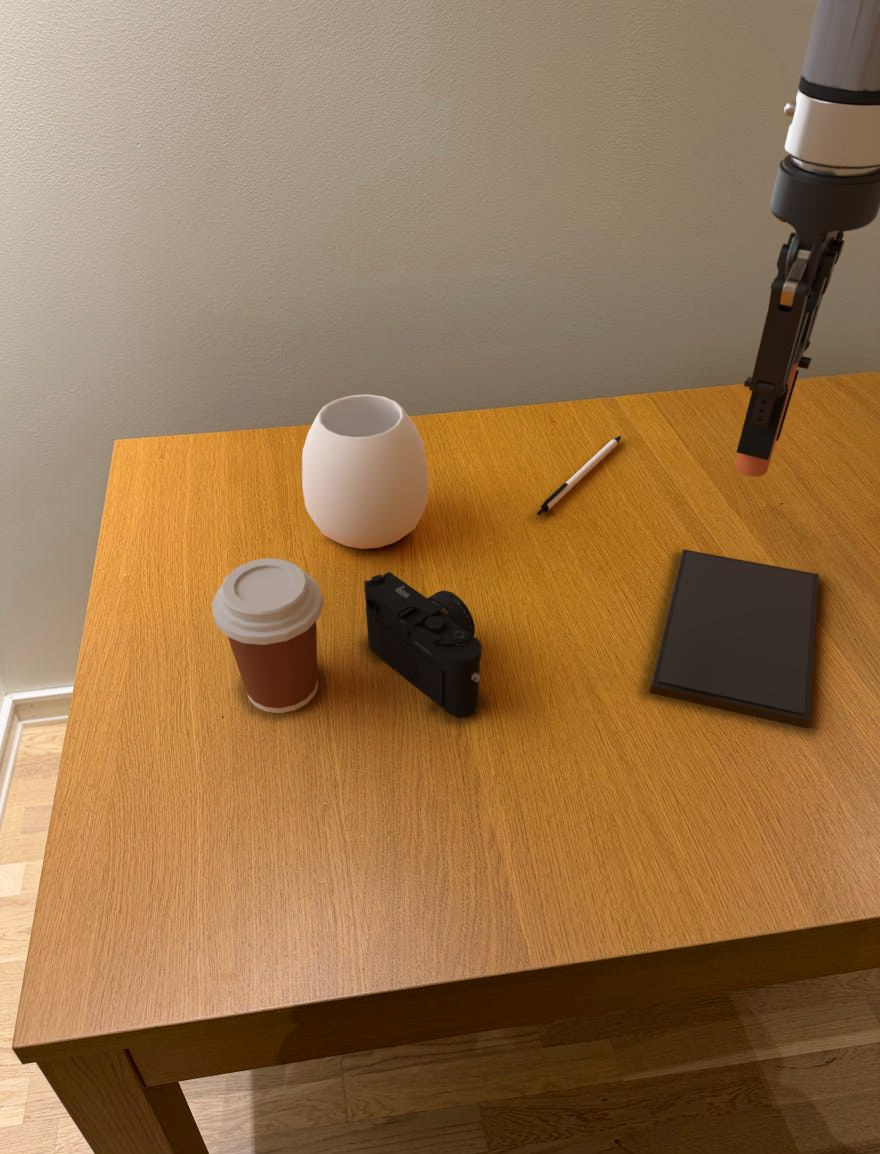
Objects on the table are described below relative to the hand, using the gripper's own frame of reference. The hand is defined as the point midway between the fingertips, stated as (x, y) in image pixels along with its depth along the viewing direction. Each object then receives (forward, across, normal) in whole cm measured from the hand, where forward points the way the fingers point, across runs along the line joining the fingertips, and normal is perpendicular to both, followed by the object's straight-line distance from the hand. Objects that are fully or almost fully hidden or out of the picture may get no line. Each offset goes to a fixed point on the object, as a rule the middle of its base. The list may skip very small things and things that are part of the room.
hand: (758, 444), depth 82 cm
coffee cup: (+15, +34, -30) cm, 48 cm away
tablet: (+15, +8, +4) cm, 17 cm away
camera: (+15, +25, -19) cm, 35 cm away
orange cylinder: (+3, 0, 0) cm, 3 cm away
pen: (+15, -9, -19) cm, 26 cm away
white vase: (+15, +10, -36) cm, 40 cm away
